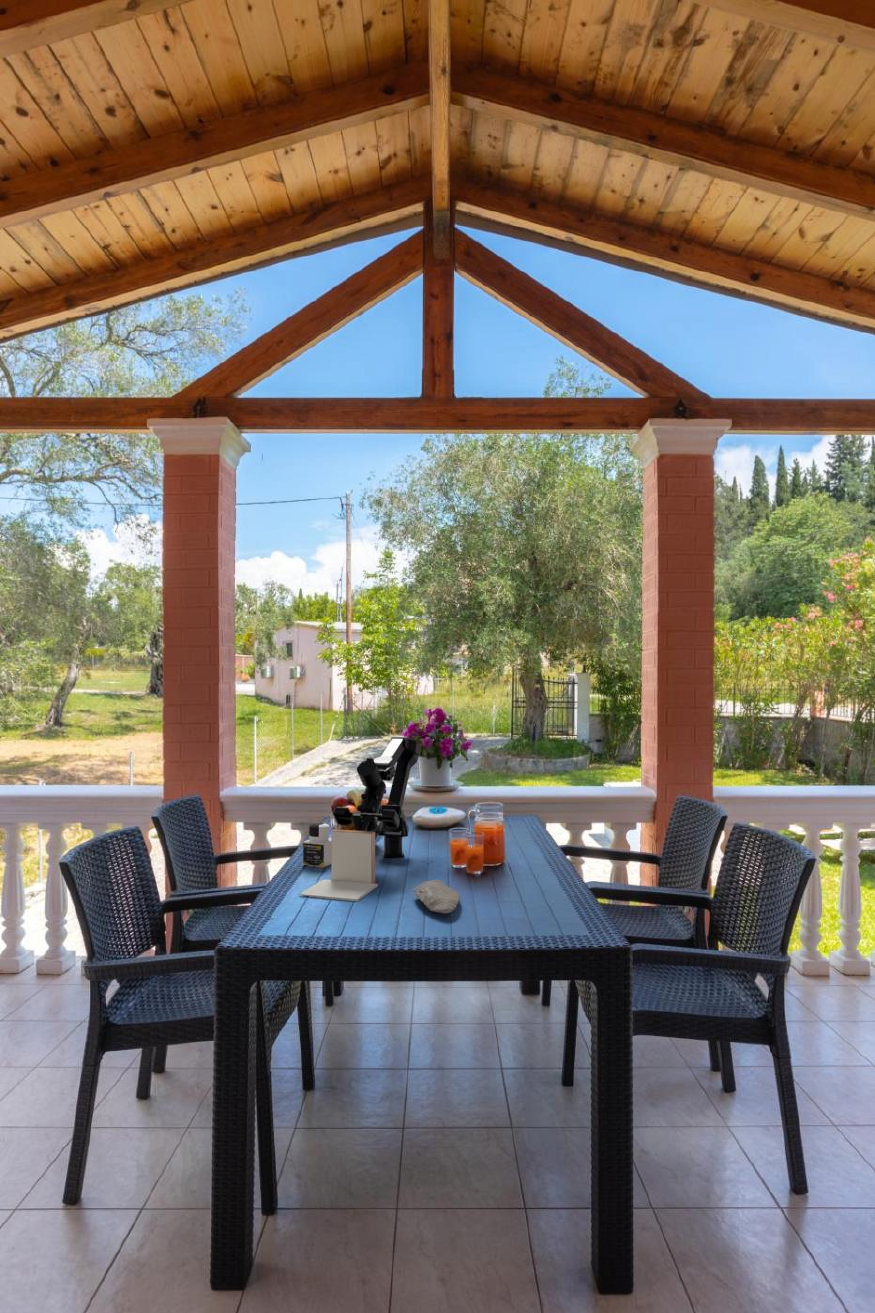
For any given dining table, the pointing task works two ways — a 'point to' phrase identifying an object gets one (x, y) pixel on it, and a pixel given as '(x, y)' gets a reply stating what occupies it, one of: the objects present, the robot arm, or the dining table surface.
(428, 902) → the stone tool
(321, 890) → the cream square plate
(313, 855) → the medicine bottle
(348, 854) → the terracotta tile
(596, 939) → the dining table surface
